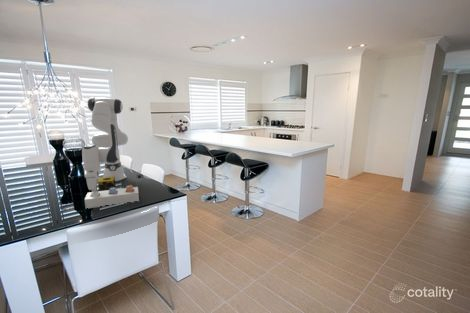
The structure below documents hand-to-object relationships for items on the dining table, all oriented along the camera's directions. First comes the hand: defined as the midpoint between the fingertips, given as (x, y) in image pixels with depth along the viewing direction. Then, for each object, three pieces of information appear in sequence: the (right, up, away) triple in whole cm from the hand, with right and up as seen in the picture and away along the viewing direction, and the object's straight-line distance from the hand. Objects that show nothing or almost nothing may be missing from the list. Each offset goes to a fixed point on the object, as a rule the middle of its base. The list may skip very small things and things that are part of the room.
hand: (95, 191), depth 146 cm
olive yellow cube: (-4, -4, +22) cm, 22 cm away
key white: (0, -5, +1) cm, 5 cm away
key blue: (+9, -3, +5) cm, 11 cm away
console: (+9, -7, +6) cm, 13 cm away
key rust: (+18, -2, +9) cm, 20 cm away
